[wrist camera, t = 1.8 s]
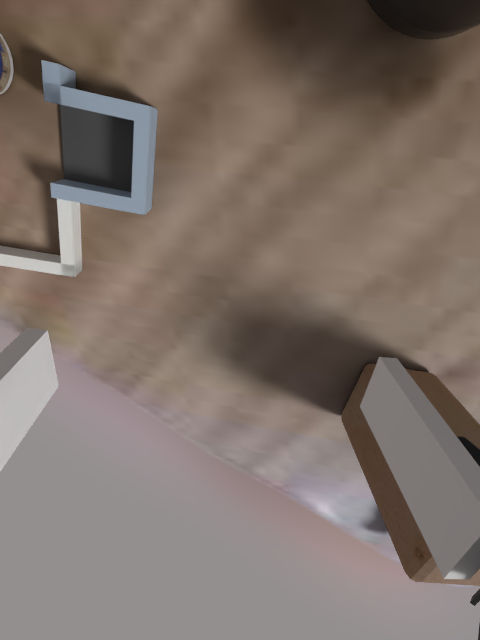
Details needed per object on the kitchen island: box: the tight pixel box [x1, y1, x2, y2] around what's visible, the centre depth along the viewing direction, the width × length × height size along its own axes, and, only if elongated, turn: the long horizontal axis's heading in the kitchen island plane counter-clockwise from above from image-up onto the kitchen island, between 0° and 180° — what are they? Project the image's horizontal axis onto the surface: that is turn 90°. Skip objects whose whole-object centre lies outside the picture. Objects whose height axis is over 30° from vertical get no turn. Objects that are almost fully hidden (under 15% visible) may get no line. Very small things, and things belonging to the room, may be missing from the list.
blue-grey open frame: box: [41, 60, 158, 215], centre depth 27 cm, size 10×21×3 cm, turn 79°
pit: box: [60, 104, 134, 192], centre depth 29 cm, size 6×7×1 cm
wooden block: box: [342, 363, 480, 586], centre depth 36 cm, size 10×10×20 cm
